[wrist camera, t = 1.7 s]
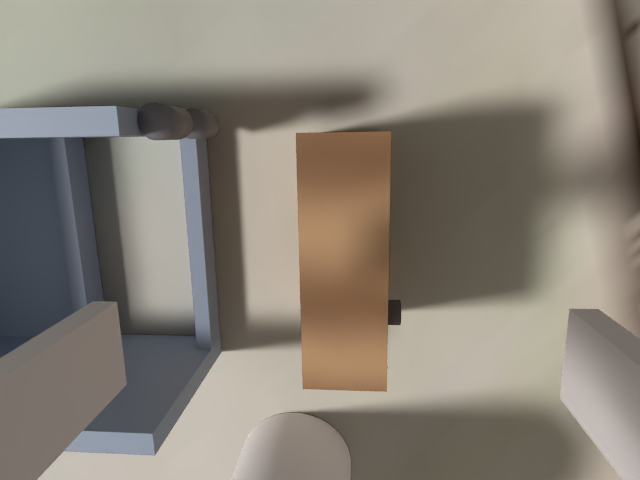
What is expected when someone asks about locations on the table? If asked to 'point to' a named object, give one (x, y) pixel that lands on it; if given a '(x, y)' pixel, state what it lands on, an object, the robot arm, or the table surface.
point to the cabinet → (83, 265)
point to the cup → (293, 451)
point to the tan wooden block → (344, 259)
